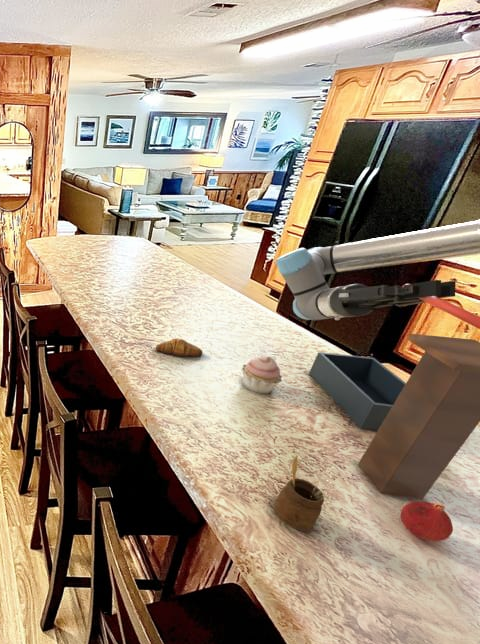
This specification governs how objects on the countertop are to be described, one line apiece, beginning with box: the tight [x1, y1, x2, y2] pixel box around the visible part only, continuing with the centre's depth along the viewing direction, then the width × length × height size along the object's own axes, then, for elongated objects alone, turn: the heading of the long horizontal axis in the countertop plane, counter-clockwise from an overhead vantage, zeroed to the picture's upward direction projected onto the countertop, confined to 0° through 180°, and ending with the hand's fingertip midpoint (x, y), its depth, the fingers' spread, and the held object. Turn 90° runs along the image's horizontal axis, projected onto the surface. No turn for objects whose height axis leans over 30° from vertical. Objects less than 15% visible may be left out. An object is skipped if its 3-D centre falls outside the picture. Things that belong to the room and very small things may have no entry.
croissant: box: [155, 338, 203, 358], centre depth 117 cm, size 14×7×5 cm, turn 80°
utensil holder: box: [273, 454, 335, 532], centre depth 67 cm, size 6×6×12 cm
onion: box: [400, 500, 454, 542], centre depth 65 cm, size 6×6×8 cm
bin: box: [308, 351, 407, 432], centre depth 97 cm, size 23×14×8 cm, turn 170°
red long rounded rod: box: [402, 283, 480, 330], centre depth 69 cm, size 18×2×2 cm, turn 170°
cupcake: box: [241, 355, 283, 395], centre depth 101 cm, size 9×9×10 cm
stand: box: [357, 333, 480, 500], centre depth 71 cm, size 10×10×30 cm
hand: (445, 288), depth 69 cm, fingers closed on red long rounded rod, 1 cm apart
